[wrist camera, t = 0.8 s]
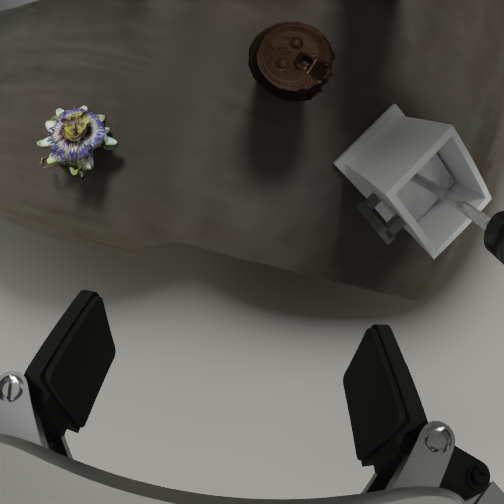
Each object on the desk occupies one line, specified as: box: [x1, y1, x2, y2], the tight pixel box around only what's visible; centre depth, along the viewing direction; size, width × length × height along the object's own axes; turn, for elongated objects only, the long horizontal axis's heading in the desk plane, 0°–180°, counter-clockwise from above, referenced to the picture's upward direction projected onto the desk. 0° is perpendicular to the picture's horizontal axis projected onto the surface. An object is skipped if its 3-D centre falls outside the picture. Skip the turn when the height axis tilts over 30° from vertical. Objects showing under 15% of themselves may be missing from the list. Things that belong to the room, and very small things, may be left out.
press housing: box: [333, 104, 492, 259], centre depth 32 cm, size 15×13×15 cm
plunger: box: [396, 153, 504, 264], centre depth 23 cm, size 8×8×20 cm
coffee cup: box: [248, 22, 335, 102], centre depth 28 cm, size 9×8×13 cm
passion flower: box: [37, 106, 118, 179], centre depth 34 cm, size 11×11×12 cm
